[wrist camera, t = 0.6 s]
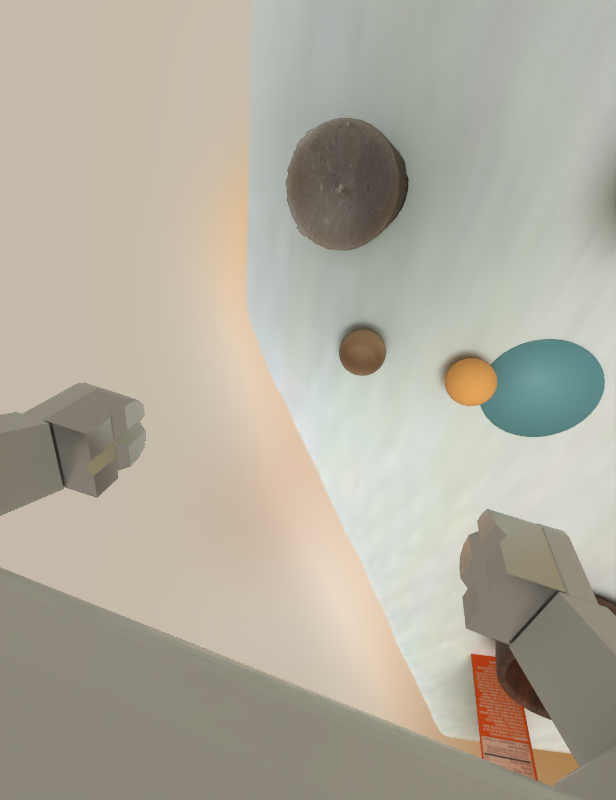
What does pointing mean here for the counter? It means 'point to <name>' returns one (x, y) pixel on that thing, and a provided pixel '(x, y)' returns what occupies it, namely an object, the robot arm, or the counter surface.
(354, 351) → the walnut ball
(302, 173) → the pillar candle
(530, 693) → the wooden bowl
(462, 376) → the orange ball
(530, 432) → the teal mark
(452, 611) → the counter surface
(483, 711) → the cereal box
